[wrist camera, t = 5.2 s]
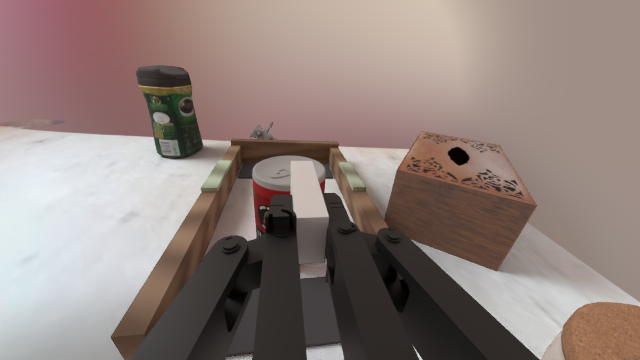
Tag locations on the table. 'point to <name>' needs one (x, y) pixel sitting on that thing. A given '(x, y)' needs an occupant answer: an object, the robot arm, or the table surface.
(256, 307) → the near trap pad
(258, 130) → the grey toy figurine
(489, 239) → the tissue box cover
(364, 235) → the robot arm
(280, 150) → the lane box
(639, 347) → the lidded bowl
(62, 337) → the table surface
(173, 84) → the coffee jar
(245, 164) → the pad
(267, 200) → the canned food
